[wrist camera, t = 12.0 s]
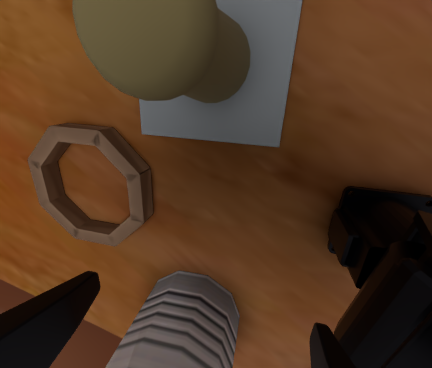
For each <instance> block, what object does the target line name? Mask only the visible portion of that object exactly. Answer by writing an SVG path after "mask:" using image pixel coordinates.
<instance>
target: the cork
mask: <svg viewBox="0 0 432 368" xmlns="http://www.w3.org/2000/svg"><path fill="white" fill-rule="evenodd" d="M73 15H74V20H75V25H76V30H77V35H78V37H79V39H80V41H81V44H82V46H83V48H84V50H85V53H86V55H87V56H88V58H89V59H90V61H91V62H92V63H93V65H94V66H95V67H96V68H97V70H98V71H99V72H100V74H101V75H102V76H103V78H104V79H105V80H107V81H108V82H109V83H111V84H112V85H113V86H114V87H116V88H117V89H118V90H120V91H121V92H123V93H126V94H128V95H131V96H133V97H136V98H139V99H142V100H145V101H165V100H171V99H174V98H176V97H179V96H181V95H185V96H187V97H190V98H192V99H195V100H198V101H200V102H203V103H218V102H221V101H224V100H227V99H229V98H230V97H231V96H232V95H234V94H235V93H236V92H237V91H238V90H239V89H240V87H241V86H242V84H243V83H244V81H245V80H246V77H247V74H248V71H249V68H250V52H251V51H250V47H249V43H248V39H247V36H246V35H245V33H244V31H243V30H242V28H241V27H240V25H239V24H238V23H237V22H236V21H234V20H233V19H232V18H231V17H229V16H228V15H227V14H225V13H224V12H223V11H221V10H220V9H219V8H218V7H217V4H216V0H73Z"/></svg>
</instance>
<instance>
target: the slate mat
mask: <svg viewBox="0 0 432 368" xmlns="http://www.w3.org/2000/svg"><path fill="white" fill-rule="evenodd" d="M216 4H217V7H218V8H219V9H220V10H221V11H223V12H224V13H225V14H227V15H228V16H229V17H231V18H232V19H233V20H234V21H236V22H237V23H238V24H239V25H240V27H241V28H242V30H243V31H244V33H245V35H246V36H247V39H248V43H249V47H250V51H251V52H250V68H249V71H248V74H247V77H246V80H245V81H244V83H243V84H242V86H241V87H240V89H239V90H238V91H237V92H236V93H235V94H234V95H232V96H231V97H230V98H229V99H227V100H224V101H221V102H218V103H203V102H200V101H198V100H195V99H192V98H190V97H187V96H185V95H181V96H179V97H176V98H174V99H171V100H165V101H145V100H142V99H139V102H140V116H141V129H142V134H147V135H157V136H167V137H178V138H188V139H198V140H209V141H219V142H229V143H240V144H250V145H261V146H271V147H279V144H280V138H281V131H282V125H283V119H284V112H285V106H286V100H287V93H288V87H289V81H290V75H291V68H292V62H293V56H294V49H295V43H296V37H297V30H298V24H299V18H300V12H301V5H302V0H216Z"/></svg>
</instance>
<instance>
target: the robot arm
mask: <svg viewBox="0 0 432 368" xmlns="http://www.w3.org/2000/svg"><path fill="white" fill-rule="evenodd" d="M350 191H353V194H351V195H349V194H348V193H349V192H350ZM427 201H430V202H429V203H428V204H425V203H426V202H427ZM328 236H329V238H330V239H329V243H328V249H329V251H330V252H331V253H334V254H336V255H337V258H338V260H339V263H340V264H341V265H342V266H343V267H347V268H348V270H349V272H350V275H351V277H352V279H353V281H354V284H355V286H356V287H357V288H359V289H360V291H359V292H358V294H357V295H356V297H355V298H354V300H353V301H352V303H351V304H350V306H349V307H348V309H347V310H346V312H345V313H344V315H343V316H342V318H341V319H340V321H339V322H338V324H337V326H336V329H335V331H334V334H333V333H332V331H331V330H330V328H329V327H328V326H327V325H325V324H321V323H315V324H314V326H313V329H312V333H311V336H310V356H311V368H432V197H431V196H428V195H419V194H411V193H403V192H394V191H386V190H378V189H370V188H361V187H353V186H349V187H346V188H345V189H344V191H343V194H342V198H341V201H340V205H339V208H337V209H336V210H335V211H334V214H333V217H332V221H331V224H330V228H329V231H328ZM332 247H333V248H334V249H333V248H332ZM99 291H100V281H99V276H98V273H96V272H93V271H87V272H84V273H82V274H80V275H78V276H76V277H74V278H72V279H70V280H68V281H66V282H64V283H62V284H60V285H58V286H56V287H54V288H52V289H50V290H48V291H46V292H44V293H42V294H40V295H38V296H36V297H34V298H32V299H30V300H28V301H26V302H24V303H22V304H20V305H18V306H16V307H14V308H12V309H10V310H8V311H6V312H4V313H2V314H0V368H49V367H50V366H51V364H52V362H53V361H54V360H55V359H56V357H57V356H58V354H59V353H60V352H61V350H62V349H63V347H64V346H65V344H66V343H67V342H68V340H69V339H70V338H71V336H72V335H73V333H74V332H75V331H76V329H77V328H78V326H79V325H80V323H81V321H82V320H83V318H84V316H85V315H86V313H87V311H88V310H89V308H90V306H91V305H92V303H93V301H94V300H95V298H96V296H97V295H98V293H99Z"/></svg>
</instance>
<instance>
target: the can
mask: <svg viewBox="0 0 432 368" xmlns="http://www.w3.org/2000/svg"><path fill="white" fill-rule="evenodd" d="M239 317H240V315H239V313H238V310H237V307H236V304H235V301H234V299H233V296H232V293H231V292H229V291H228V290H227V289H225V288H224V287H223V286H221V285H220V284H219V283H217V282H216V281H215V280H213V279H212V278H211V277H209V276H208V275H202V274H197V273H191V272H185V271H177V272H175V273H172V274H170V275H168V276H166V277H164V278H161V279H159V280H158V281H157V283H156V285H155V286H154V288H153V290H152V291H151V293H150V295H149V296H148V298H147V300H146V301H145V303H144V305H143V306H142V308H141V310H140V311H139V313H138V315H137V316H136V318H135V320H134V321H133V323H132V325H131V326H130V328H129V329H128V331H127V333H126V334H125V336H124V338H123V339H122V341H121V343H120V344H119V346H118V348H117V349H116V351H115V353H114V354H113V356H112V358H111V360H110V361H109V363H108V364H107V366H106V368H232V367H233V360H234V353H235V345H236V338H237V331H238V324H239Z"/></svg>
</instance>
